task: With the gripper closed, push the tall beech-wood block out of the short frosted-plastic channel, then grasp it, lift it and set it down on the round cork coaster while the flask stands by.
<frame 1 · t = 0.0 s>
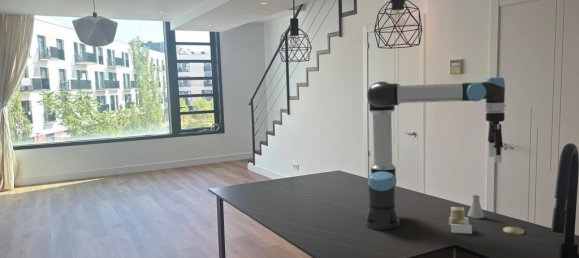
hand: (494, 159, 195), 28 cm above the table, fingers open, 13 cm apart
block: (457, 228, 189), on the table
flask: (476, 217, 205), on the table
channel: (460, 228, 189), on the table
coaster: (513, 231, 183), on the table
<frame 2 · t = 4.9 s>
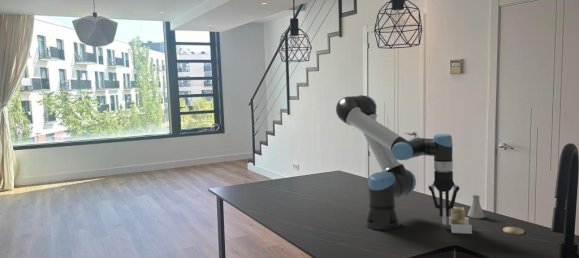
hand: (444, 223, 190), 2 cm above the table, fingers closed
block: (457, 228, 189), on the table, touching gripper
everything else where it was.
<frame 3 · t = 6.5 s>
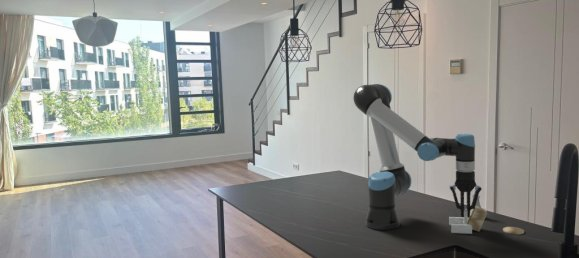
hand: (465, 224, 188), 2 cm above the table, fingers closed
block: (472, 227, 187), point 1 cm above the table, tilted 21°, touching gripper, hand
everything else where it was.
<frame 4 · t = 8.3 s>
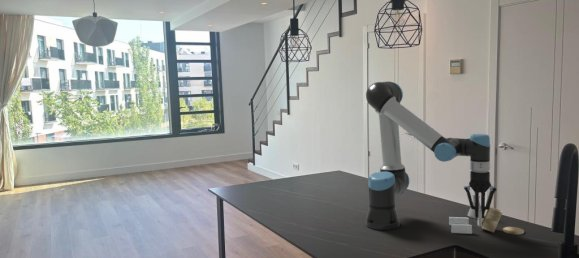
hand: (479, 225, 186), 2 cm above the table, fingers closed
block: (486, 228, 186), point 1 cm above the table, tilted 21°, touching gripper, hand
everything else where it was.
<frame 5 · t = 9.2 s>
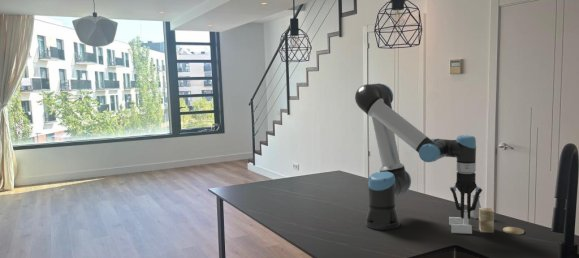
hand: (465, 225, 188), 2 cm above the table, fingers closed
block: (486, 230, 186), on the table
everything else where it was.
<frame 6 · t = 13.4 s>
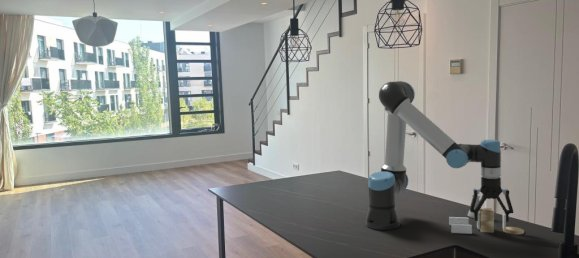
hand: (491, 228, 185), 1 cm above the table, fingers open, 9 cm apart
nothing on the table moved.
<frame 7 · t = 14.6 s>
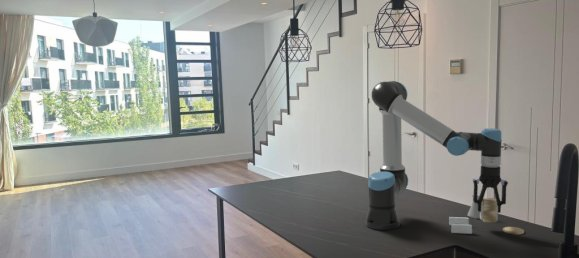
hand: (488, 219, 186), 5 cm above the table, fingers closed on block, 5 cm apart
block: (488, 220, 185), point 4 cm above the table, touching gripper
everything else where it was.
when the fingers open (2 cm above the table, at t = 18.5 s): block stays where it is, resting on coaster.
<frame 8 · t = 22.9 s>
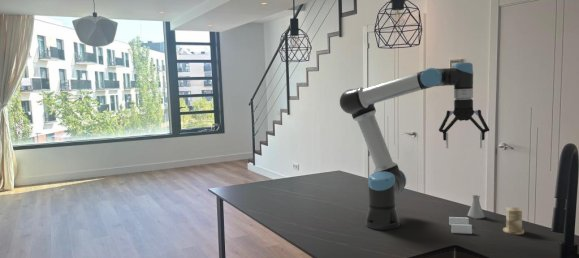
hand: (463, 147, 190), 35 cm above the table, fingers open, 13 cm apart
block: (513, 230, 183), point 1 cm above the table, touching coaster
everything else where it was.
at the end: block 0.2 cm from the coaster (horizontally); block tilted 0°; block point 0.6 cm above the table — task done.
